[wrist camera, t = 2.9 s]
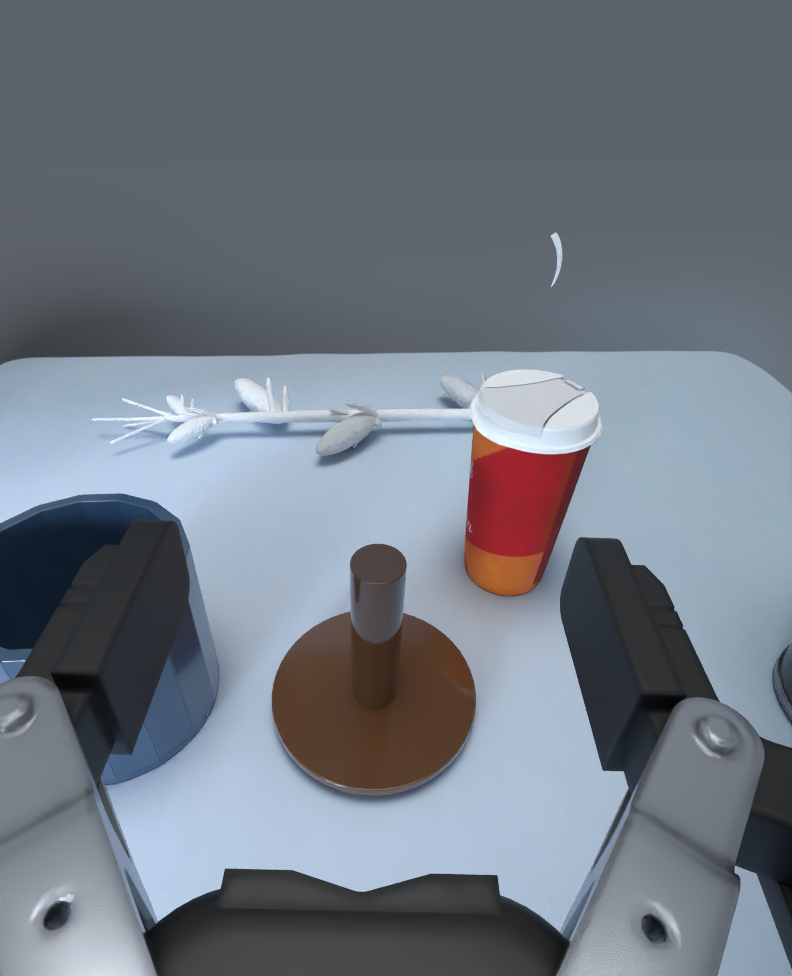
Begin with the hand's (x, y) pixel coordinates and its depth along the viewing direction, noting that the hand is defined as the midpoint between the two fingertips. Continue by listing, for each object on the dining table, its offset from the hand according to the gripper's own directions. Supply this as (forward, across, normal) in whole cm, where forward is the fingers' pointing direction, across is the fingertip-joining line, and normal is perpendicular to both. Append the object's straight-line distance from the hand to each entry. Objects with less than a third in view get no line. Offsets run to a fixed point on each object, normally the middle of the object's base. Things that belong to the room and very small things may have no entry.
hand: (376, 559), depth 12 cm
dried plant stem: (+39, +6, +22) cm, 45 cm away
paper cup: (+22, -9, +22) cm, 32 cm away
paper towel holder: (+11, 0, +22) cm, 24 cm away
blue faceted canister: (+11, +14, +22) cm, 29 cm away
